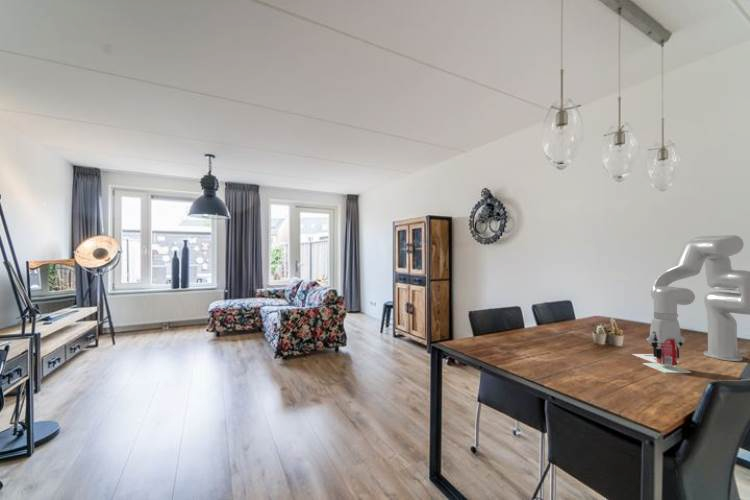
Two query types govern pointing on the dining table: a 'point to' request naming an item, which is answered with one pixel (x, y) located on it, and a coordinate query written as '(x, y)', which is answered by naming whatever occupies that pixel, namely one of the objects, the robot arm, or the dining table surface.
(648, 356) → the tile
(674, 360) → the soda can
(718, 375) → the dining table surface
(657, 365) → the mat
